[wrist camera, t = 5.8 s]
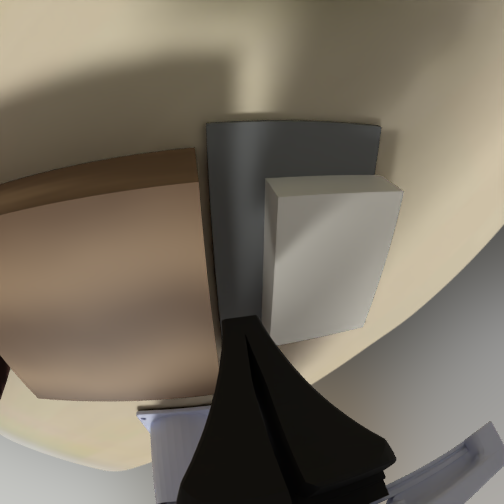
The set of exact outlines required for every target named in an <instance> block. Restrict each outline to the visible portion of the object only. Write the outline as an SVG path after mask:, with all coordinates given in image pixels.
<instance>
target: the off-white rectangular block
mask: <svg viewBox="0 0 504 504" xmlns="http://www.w3.org/2000/svg"><path fill="white" fill-rule="evenodd" d="M403 193H404V191H403V190H401V189H400V188H399V187H397V186H396V185H395V184H393V183H392V182H390V181H389V180H388V179H386V178H385V177H383V176H382V175H325V176H298V177H279V178H265V220H264V257H263V290H262V321H261V322H262V324H263V326H264V327H265V329H266V331H267V332H268V334H269V335H270V337H271V338H272V340H273V341H274V342H275V344H276V345H283V344H288V343H293V342H298V341H303V340H308V339H313V338H318V337H323V336H327V335H332V334H336V333H340V332H345V331H349V330H353V329H357V328H361V327H363V326H364V323H365V320H366V318H367V315H368V312H369V309H370V307H371V304H372V301H373V298H374V295H375V292H376V289H377V287H378V283H379V280H380V277H381V274H382V271H383V268H384V265H385V261H386V258H387V255H388V251H389V248H390V244H391V241H392V237H393V234H394V230H395V226H396V222H397V218H398V214H399V210H400V206H401V202H402V198H403Z"/></svg>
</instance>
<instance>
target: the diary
mask: <svg viewBox="0 0 504 504" xmlns="http://www.w3.org/2000/svg"><path fill="white" fill-rule="evenodd" d="M9 371H10V367H9V365H8V364H7V363H6V362H5V361H4V359H3V358H2V357H1V356H0V399H1V396H2V393H3V390H4V387H5V385H6V381H7V378H8V374H9Z"/></svg>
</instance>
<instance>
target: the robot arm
mask: <svg viewBox="0 0 504 504" xmlns="http://www.w3.org/2000/svg"><path fill="white" fill-rule="evenodd" d="M221 325H222V351H221V359H220V367H219V373H218V378H217V383H216V388H215V392H214V396H213V400H212V404H211V405H209V406H200V407H191V408H179V409H166V410H148V411H138V412H137V417H138V419H139V420H140V421H141V422H142V424H143V425H144V426H145V428H146V429H147V430H148V431H149V433H150V437H151V454H152V467H153V479H154V489H155V498H156V504H378V503H380V502H382V501H385V500H387V499H388V500H387V503H386V504H464V503H465V502H466V501H467V500H469V499H470V498H471V497H472V496H473V495H474V494H475V493H476V492H477V491H478V490H479V489H480V488H481V487H482V486H483V485H484V484H485V483H486V482H487V481H488V480H489V479H490V478H491V477H493V476H494V475H495V474H496V473H497V472H498V471H499V470H500V469H501V468H502V467H503V466H504V444H503V442H502V441H501V439H500V437H499V435H498V433H497V431H496V429H495V427H494V426H493V424H492V422H491V421H489V422H488V423H487V424H485V425H484V426H483V427H482V428H480V429H479V430H477V431H476V432H475V433H473V434H472V435H471V436H469V437H468V438H467V439H465V441H463V442H462V443H460V444H459V445H457V446H456V447H454V448H453V449H451V450H450V451H448V452H447V453H445V454H443V455H442V456H440V457H438V458H437V459H435V460H433V461H432V462H430V463H428V464H426V465H425V466H423V467H421V468H419V469H418V470H416V471H414V472H412V473H410V474H408V475H406V476H404V477H402V478H400V479H398V480H396V481H394V482H392V483H390V484H388V485H385V483H384V481H383V479H385V474H384V472H383V470H385V469H386V468H388V467H389V466H391V465H392V464H394V463H395V461H396V457H395V455H394V452H393V451H392V449H391V448H390V446H389V444H388V443H387V441H386V440H385V439H384V438H382V437H380V436H379V435H377V434H375V433H373V432H371V431H370V430H368V429H366V428H365V427H363V426H362V425H360V424H358V423H357V422H355V421H354V420H353V419H351V418H350V417H348V416H347V415H345V414H344V413H343V412H341V411H340V410H339V409H338V408H336V407H335V406H334V405H332V404H331V403H330V402H329V401H328V400H326V399H325V398H324V397H323V396H322V395H321V394H320V393H318V392H317V391H316V390H315V389H314V388H313V387H312V386H311V385H310V384H309V383H308V382H307V381H306V380H305V379H304V378H303V377H302V376H301V375H300V373H299V372H298V371H297V370H296V369H295V368H294V367H293V366H292V364H291V363H290V362H289V361H288V360H287V358H286V357H285V356H284V354H283V353H282V352H281V351H280V349H279V348H278V347H277V345H276V344H275V342H274V341H273V340H272V338H271V337H270V335H269V334H268V332H267V331H266V329H265V327H264V326H263V324H262V322H261V320H260V319H259V317H258V316H257V315H251V316H244V317H236V318H229V319H224V320H222V321H221Z"/></svg>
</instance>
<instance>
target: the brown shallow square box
mask: <svg viewBox="0 0 504 504" xmlns="http://www.w3.org/2000/svg"><path fill="white" fill-rule="evenodd" d="M0 356H1V357H2V358H3V359H4V361H5V362H6V363H7V364H8V365H9V367H10V368H11V369H12V370H13V371H14V372H15V374H16V375H17V376H18V377H19V378H20V379H21V380H22V382H23V383H24V384H25V385H26V386H27V387H28V388H29V389H30V390H31V391H32V392H33V393H34V394H35V395H36V397H37V398H41V399H53V400H71V401H142V400H161V399H174V398H186V397H196V396H205V395H213V394H214V392H215V388H216V383H217V378H218V373H219V363H218V356H217V349H216V342H215V335H214V327H213V319H212V311H211V303H210V295H209V286H208V277H207V268H206V258H205V248H204V238H203V227H202V216H201V204H200V192H199V180H198V171H197V163H196V154H195V147H194V148H184V149H175V150H166V151H158V152H150V153H143V154H136V155H129V156H123V157H117V158H111V159H105V160H100V161H95V162H89V163H84V164H79V165H75V166H70V167H65V168H61V169H57V170H52V171H48V172H44V173H40V174H36V175H32V176H28V177H25V178H21V179H17V180H14V181H10V182H7V183H4V184H0Z"/></svg>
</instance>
